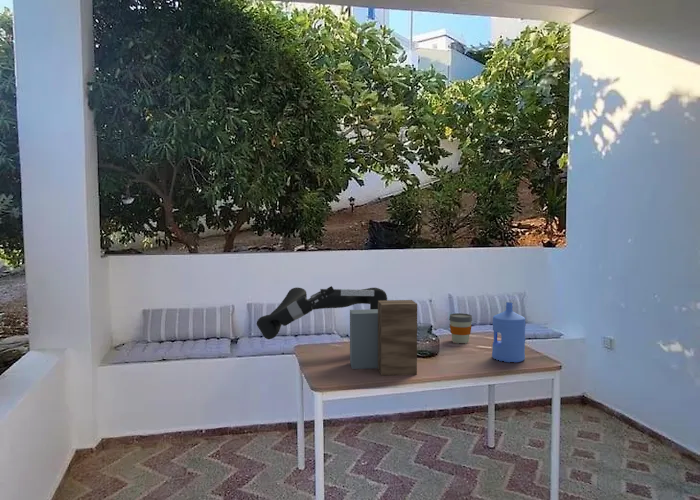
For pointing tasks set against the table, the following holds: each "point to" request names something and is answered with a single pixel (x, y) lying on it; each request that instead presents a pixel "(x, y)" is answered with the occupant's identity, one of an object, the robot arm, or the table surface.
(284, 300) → the robot arm
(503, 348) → the water jug
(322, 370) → the table surface
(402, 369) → the upright wooden block
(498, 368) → the table surface
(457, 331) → the reusable coffee cup
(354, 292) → the lever bar
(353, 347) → the grey rectangular box
